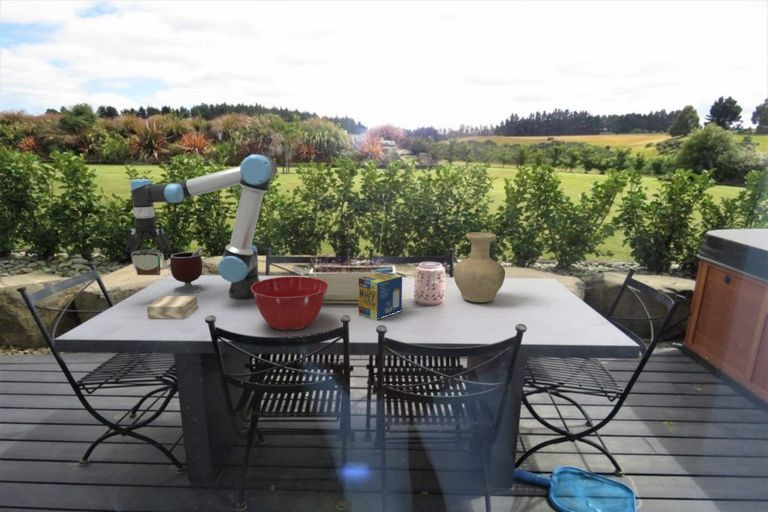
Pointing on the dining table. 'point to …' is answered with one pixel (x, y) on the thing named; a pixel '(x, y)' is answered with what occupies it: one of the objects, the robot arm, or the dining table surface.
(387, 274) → the protein box
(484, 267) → the vase
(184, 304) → the birch platform
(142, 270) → the food container
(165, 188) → the robot arm
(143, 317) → the dining table surface
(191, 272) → the mate gourd
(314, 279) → the mixing bowl
